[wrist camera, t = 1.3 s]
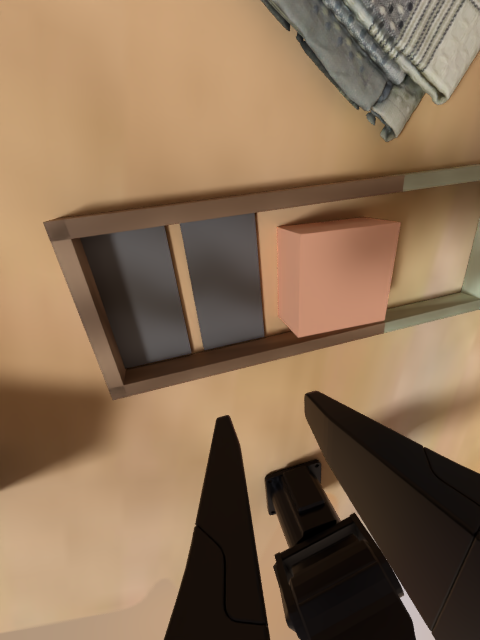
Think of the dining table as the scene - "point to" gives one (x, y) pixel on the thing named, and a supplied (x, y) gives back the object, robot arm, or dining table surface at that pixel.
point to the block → (335, 273)
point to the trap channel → (212, 282)
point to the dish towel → (386, 49)
